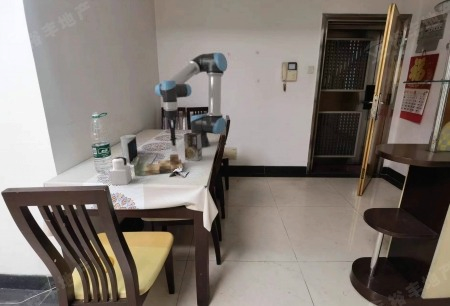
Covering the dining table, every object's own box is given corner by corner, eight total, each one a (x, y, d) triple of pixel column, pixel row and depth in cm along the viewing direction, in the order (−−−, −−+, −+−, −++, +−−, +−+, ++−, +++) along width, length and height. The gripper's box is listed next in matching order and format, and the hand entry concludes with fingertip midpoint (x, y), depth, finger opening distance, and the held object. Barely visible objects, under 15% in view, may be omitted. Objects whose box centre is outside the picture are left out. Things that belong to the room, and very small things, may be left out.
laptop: (151, 164, 138) (149, 143, 134) (129, 165, 137) (126, 143, 133) (156, 155, 155) (155, 136, 152) (137, 156, 154) (135, 137, 150)
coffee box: (202, 158, 148) (201, 133, 144) (198, 161, 143) (197, 135, 138) (189, 157, 151) (188, 132, 147) (184, 159, 145) (183, 134, 141)
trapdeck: (181, 163, 139) (180, 154, 138) (182, 172, 125) (182, 162, 123) (138, 166, 134) (137, 157, 132) (134, 176, 120) (133, 165, 118)
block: (178, 161, 134) (178, 154, 133) (178, 164, 130) (178, 156, 128) (170, 162, 133) (169, 154, 132) (170, 164, 129) (169, 156, 127)
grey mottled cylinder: (132, 156, 152) (130, 138, 149) (119, 156, 154) (116, 137, 151) (140, 152, 161) (138, 135, 158) (128, 152, 163) (125, 134, 160)
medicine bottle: (117, 179, 116) (113, 155, 112) (132, 178, 116) (129, 155, 113) (111, 185, 109) (107, 160, 105) (127, 184, 109) (124, 160, 106)
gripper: (163, 108, 136) (167, 148, 143) (163, 111, 124) (167, 154, 131) (177, 108, 137) (180, 147, 144) (178, 110, 125) (181, 153, 132)
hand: (174, 150), depth 137 cm, fingers closed
